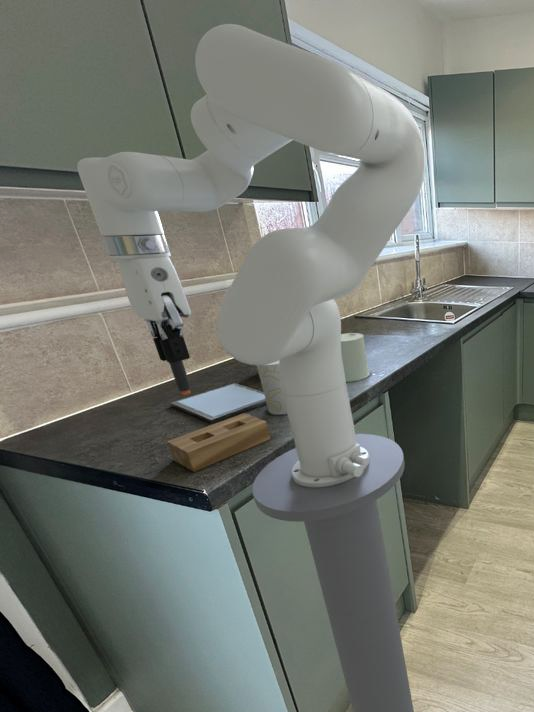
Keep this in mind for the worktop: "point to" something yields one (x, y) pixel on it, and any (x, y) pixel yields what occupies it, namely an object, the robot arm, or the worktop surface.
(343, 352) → the pale green tapered cylinder
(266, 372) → the cup
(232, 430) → the holder
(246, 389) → the tablet
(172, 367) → the stylus
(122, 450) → the worktop surface
